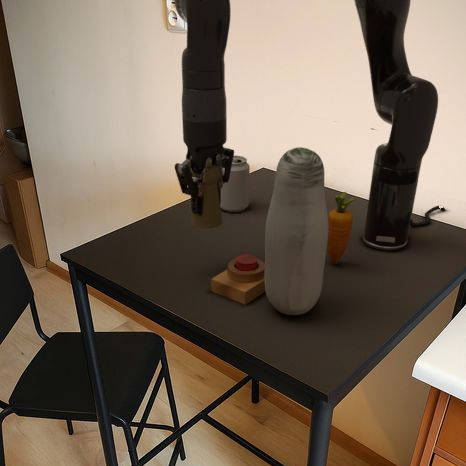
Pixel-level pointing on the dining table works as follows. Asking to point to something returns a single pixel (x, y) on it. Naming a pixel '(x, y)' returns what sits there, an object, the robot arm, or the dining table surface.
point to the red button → (246, 262)
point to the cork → (209, 201)
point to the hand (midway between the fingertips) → (206, 210)
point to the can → (236, 186)
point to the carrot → (339, 228)
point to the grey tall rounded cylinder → (296, 233)
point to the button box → (240, 282)
